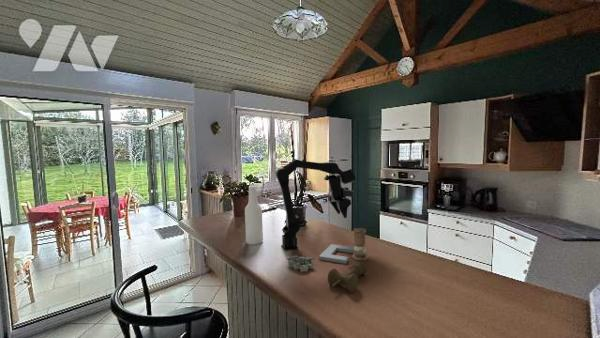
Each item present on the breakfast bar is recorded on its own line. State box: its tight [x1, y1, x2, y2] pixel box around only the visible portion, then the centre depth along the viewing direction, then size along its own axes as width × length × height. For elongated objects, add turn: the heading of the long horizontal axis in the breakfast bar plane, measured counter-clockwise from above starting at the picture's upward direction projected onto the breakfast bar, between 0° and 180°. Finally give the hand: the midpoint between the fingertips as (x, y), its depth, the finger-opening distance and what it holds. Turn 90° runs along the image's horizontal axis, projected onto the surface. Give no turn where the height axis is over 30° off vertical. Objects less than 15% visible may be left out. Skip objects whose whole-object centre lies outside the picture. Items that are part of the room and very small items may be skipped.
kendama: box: [327, 261, 368, 293], centre depth 96 cm, size 6×10×20 cm
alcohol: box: [244, 185, 264, 246], centre depth 141 cm, size 9×9×30 cm
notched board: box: [318, 243, 354, 265], centre depth 122 cm, size 12×16×2 cm
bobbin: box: [351, 227, 368, 262], centre depth 117 cm, size 6×6×13 cm
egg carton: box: [285, 254, 315, 273], centre depth 111 cm, size 11×8×4 cm
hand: (342, 215), depth 138 cm, fingers open, 9 cm apart
